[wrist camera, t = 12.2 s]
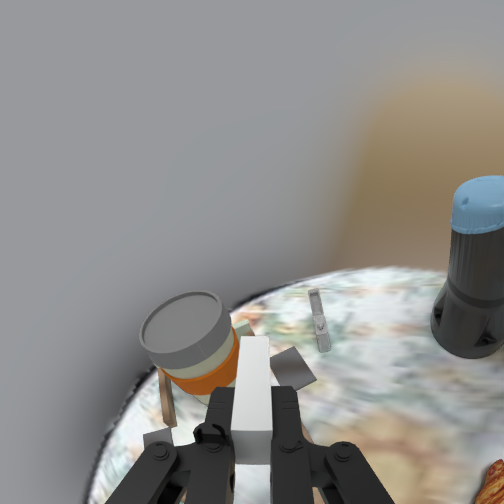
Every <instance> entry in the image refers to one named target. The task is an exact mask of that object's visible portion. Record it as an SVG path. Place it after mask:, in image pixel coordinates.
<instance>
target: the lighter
mask: <svg viewBox="0 0 504 504" xmlns="http://www.w3.org/2000/svg"><path fill="white" fill-rule="evenodd" d="M308 295H309V299H310V304H311V309H312V314H313V316H314V317H313V319H314V324H315V330H316V335H317V340H318V345H319V350H320V352H321V353H322V352H326V351H330V350H331V349H330V342H329V336H328V331H327V326H326V322H325V317H324V315H323V314H324V313H323V308H322V303H321V298H320V293H319V289H318V288H316V289H312V290H309V291H308Z"/></svg>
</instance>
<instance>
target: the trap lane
mask: <svg viewBox="0 0 504 504" xmlns="http://www.w3.org/2000/svg"><path fill="white" fill-rule="evenodd" d="M246 335H247V336H255V335H254V333H253V331H252V330H251V331H248V332H246ZM270 367H271V369H272V371H273V373H274V375H275V376H276V378H277V380H278V382H279V384H280V386H292V387H293V388H294V390H295V391H296V390H298V389H300V388H302V387H304V386H306V385H308V384H310V383H312V382H314V381H316V380H317V379H316V378H315V376H314V375H313V373H312V372H311V370H310V369H309V367H308V366H307V364H306V363H305V361H304V360H303V358H302V357H301V355H300V354H299V353H298V351H297V350H296V348H295V347H294V346H293V347H291V348H289V349H287V350H285V351H283V352H281V353H279V354H277V355H275V356H272V357H270ZM158 377H159V388H160V398H161V407H162V416H163V422H164V423H165V424H166V425H167V426H169V428H165V429H162V430H158V431H155V432H151V433H147V434H143V440H144V450H145V448H146V447H147V446H148V445H149V444H151V443H153V442H156V441H165V442H169V443H170V444H172V445H173V440H172V434H171V428H173V427H176V426H177V422H176V416H175V410H174V404H173V397H172V390H171V383H170V379H169V378H168V377H167V376H166V375H165V374H164V373H163V371H162V370H161V368H158ZM301 425H302V432H303V435H304V437H305V438H306V439H307V440H308V441H309V442H311V443H313V441H312V439H311V438H310V436H309V434H308V432H307V431H306V429H305V427H304V425H303V424H302V422H301ZM313 444H314V443H313ZM186 493H187V490H186V492H185V494H184V496H183V497H182V499H181V502H184V503H185V498H186Z"/></svg>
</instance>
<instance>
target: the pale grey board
mask: <svg viewBox="0 0 504 504" xmlns="http://www.w3.org/2000/svg"><path fill="white" fill-rule="evenodd" d="M232 327H233V328H234V329H235V332H236V334H237V338H238V341H239V345H240V341H241V336H247V335H246V332H248V331H251V330H252V329H251V327H250V324H249V322H248V320H247V319H245V320H243V321H241V322H238V323H236V324H234V325H232ZM156 367H157V368H160V367H159V366H157V365H156Z"/></svg>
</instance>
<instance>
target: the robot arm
mask: <svg viewBox="0 0 504 504" xmlns="http://www.w3.org/2000/svg"><path fill="white" fill-rule="evenodd" d="M451 227H452V233H451V250H450V260H449V268H448V277H447V280H446V282H445V284H444V286H443V288H442V289H441V291H440V293H439V295H438V297H437V298H436V300H435V303H434V306H433V309H432V315H431V328H432V332H433V334H434V336H435V338H436V340H437V341H438V342H439V343H440V344H441V345H442V346H443V347H444V348H445V349H446V350H448V351H449V352H451V353H453V354H455V355H457V356H460V357H464V358H481V357H485V356H488V355H490V354H492V353H494V352H495V351H496V350H498V349H499V348H500V347H501V345H502V344H503V342H504V176H484V177H479V178H474V179H472V180H469V181H467V182H465V183H463V184H462V185H461V186H460V187H459V188H458V189H457V191H456V192H455V194H454V198H453V211H452V217H451ZM193 434H194V438H195V441H196V442H194V443H192V444H189V445H184V446H176V447H174V446H173V445H172V444H170V443H169V442H165V441H156V442H153V443H151V444H149V445H148V446H147V447H146V448H145V450H144V451H143V453H142V454H141V455H140V457H139V458H138V459H137V461H136V462H135V464H134V465H133V466H132V468H131V469H130V470H129V472H128V473H127V474H126V476H125V477H124V479H123V480H122V481H121V483H120V484H119V485H118V487H117V488H116V489H115V491H114V492H113V493H112V495H111V496H110V497H109V499H108V500H107V501H106V503H105V504H179V503H180V501H181V499H182V497H183V496H184V494H185V492H186V490H187V493H186V498H185V503H184V504H233V500H234V487H235V463H236V464H247V465H266V464H270V468H271V471H270V493H271V504H314V498H313V490H312V487H317V488H318V490H319V492H320V494H321V496H322V498H323V500H324V502H325V504H395V503H394V501H393V500H392V498H391V497H390V495H389V494H388V492H387V491H386V489H385V488H384V486H383V485H382V483H381V482H380V480H379V479H378V477H377V476H376V474H375V473H374V471H373V470H372V468H371V467H370V465H369V464H368V462H367V461H366V459H365V457H364V456H363V454H362V453H361V451H360V450H359V448H358V447H357V446H356V445H355V444H352V443H350V442H344V441H342V442H336V443H335V444H333V445H331V446H330V447H326V446H320V445H315V444H313V443H311V442H309V441H308V440H307V439H306V438H305V437H304V435H303V432H302V425H301V418H300V411H299V404H298V397H297V392H296V391H295V390H294V388H293V387H292V386H271V379H270V356H269V336H241V341H240V350H239V359H238V368H237V377H236V386H235V387H216V388H215V389H214V390H213V391H212V393H211V394H210V399H209V404H208V410H207V413H206V418H205V422H204V423H201V424H199V425H198V426H197V427H196V428H195V429H194V431H193Z"/></svg>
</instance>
